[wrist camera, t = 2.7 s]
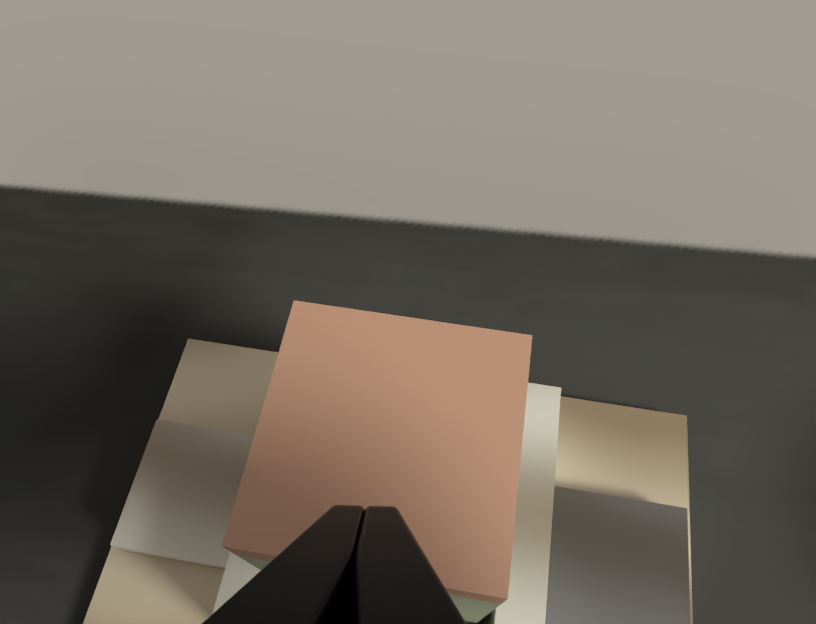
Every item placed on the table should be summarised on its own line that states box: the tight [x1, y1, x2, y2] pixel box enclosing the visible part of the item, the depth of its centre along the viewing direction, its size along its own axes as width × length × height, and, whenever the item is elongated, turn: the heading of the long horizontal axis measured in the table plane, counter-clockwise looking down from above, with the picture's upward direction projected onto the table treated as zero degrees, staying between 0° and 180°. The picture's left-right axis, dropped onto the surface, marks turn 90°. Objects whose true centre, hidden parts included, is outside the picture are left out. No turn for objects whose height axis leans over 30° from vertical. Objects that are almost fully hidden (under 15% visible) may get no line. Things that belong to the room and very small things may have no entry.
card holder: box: [83, 339, 693, 624], centre depth 19 cm, size 11×18×5 cm, turn 80°
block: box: [222, 301, 532, 624], centre depth 15 cm, size 5×5×8 cm
